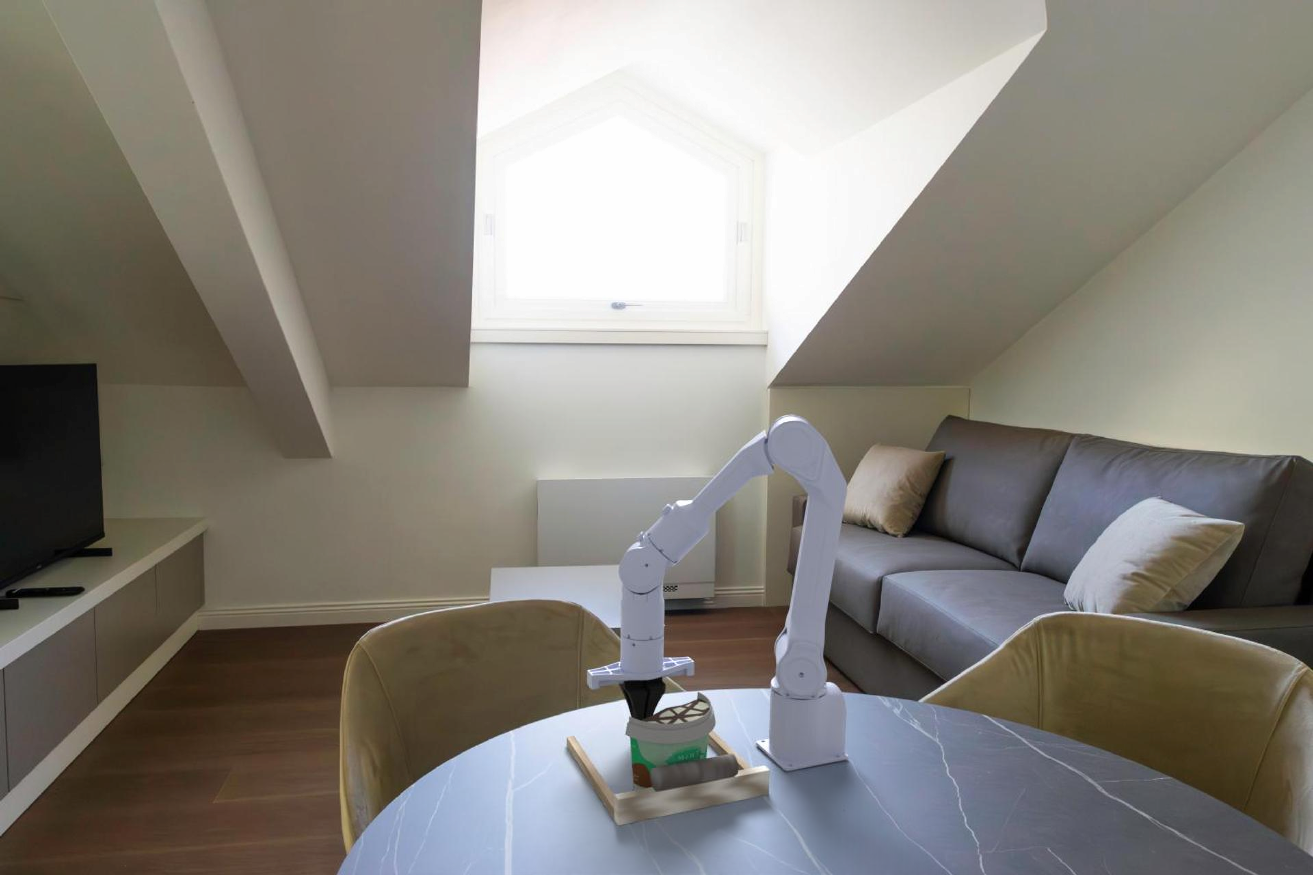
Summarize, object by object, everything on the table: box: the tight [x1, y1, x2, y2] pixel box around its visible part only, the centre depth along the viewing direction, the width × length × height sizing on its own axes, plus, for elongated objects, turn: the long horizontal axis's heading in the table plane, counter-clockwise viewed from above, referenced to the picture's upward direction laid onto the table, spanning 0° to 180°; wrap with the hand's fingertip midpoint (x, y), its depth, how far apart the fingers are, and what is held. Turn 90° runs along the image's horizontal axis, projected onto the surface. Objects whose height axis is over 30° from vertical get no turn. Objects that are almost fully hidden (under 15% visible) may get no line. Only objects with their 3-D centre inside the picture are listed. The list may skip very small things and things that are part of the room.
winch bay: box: [566, 729, 771, 826], centre depth 105 cm, size 19×21×5 cm
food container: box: [624, 691, 717, 791], centre depth 100 cm, size 12×6×10 cm, turn 132°
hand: (640, 732), depth 113 cm, fingers closed
